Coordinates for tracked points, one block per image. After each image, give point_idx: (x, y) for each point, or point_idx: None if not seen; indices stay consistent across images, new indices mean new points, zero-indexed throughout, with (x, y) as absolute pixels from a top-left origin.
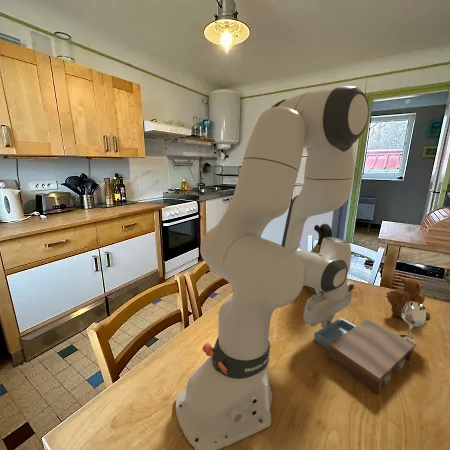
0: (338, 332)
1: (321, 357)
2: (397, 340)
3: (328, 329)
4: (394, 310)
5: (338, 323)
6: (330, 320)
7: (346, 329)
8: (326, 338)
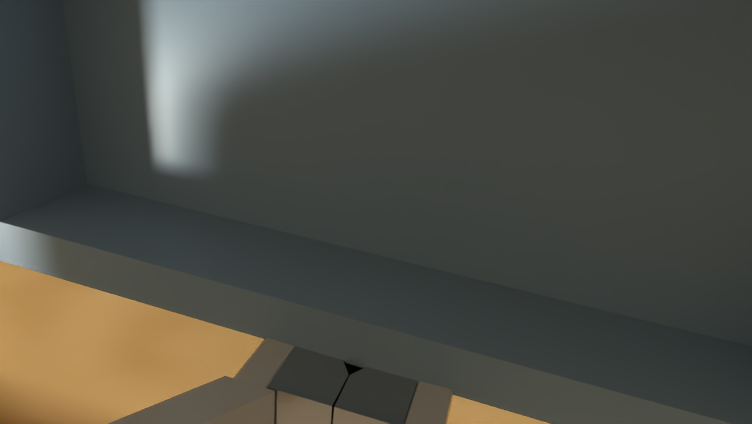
0: (295, 140)
1: None
2: None
3: (435, 310)
4: None
5: (125, 229)
6: (252, 409)
7: (113, 72)
8: (652, 240)
